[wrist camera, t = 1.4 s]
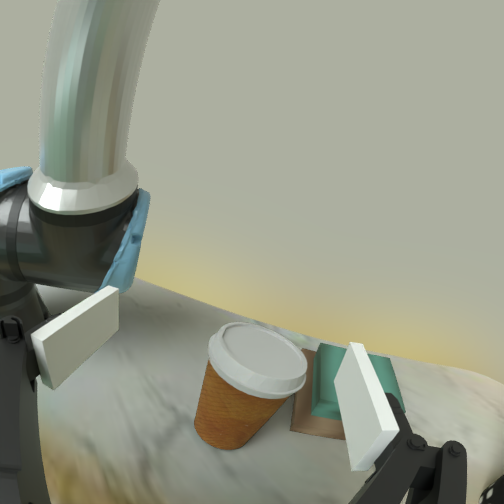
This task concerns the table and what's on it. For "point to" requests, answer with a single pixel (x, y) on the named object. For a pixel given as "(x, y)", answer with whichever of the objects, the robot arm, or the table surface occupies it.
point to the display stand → (331, 392)
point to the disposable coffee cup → (246, 382)
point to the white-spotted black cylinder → (494, 493)
